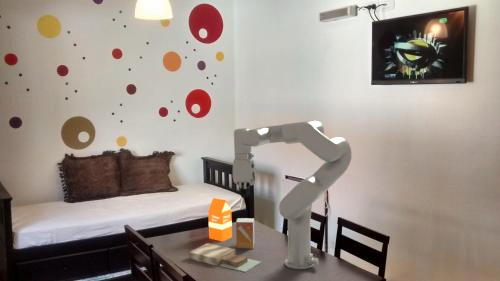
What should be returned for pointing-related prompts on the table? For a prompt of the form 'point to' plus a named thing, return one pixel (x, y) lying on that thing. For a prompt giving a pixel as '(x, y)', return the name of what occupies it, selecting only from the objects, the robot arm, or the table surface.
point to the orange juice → (220, 220)
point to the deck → (210, 253)
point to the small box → (245, 233)
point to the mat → (244, 267)
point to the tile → (234, 260)
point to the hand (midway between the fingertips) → (244, 196)
